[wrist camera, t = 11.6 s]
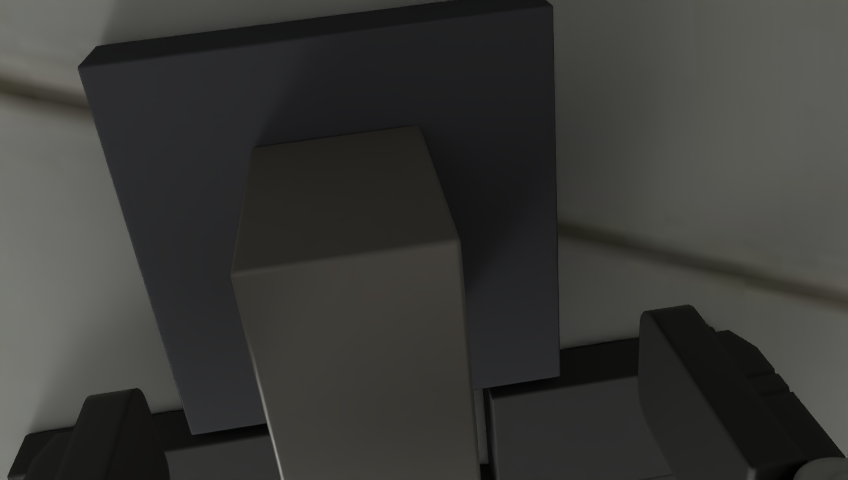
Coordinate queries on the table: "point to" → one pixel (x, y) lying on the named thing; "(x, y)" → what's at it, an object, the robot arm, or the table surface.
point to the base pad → (505, 426)
